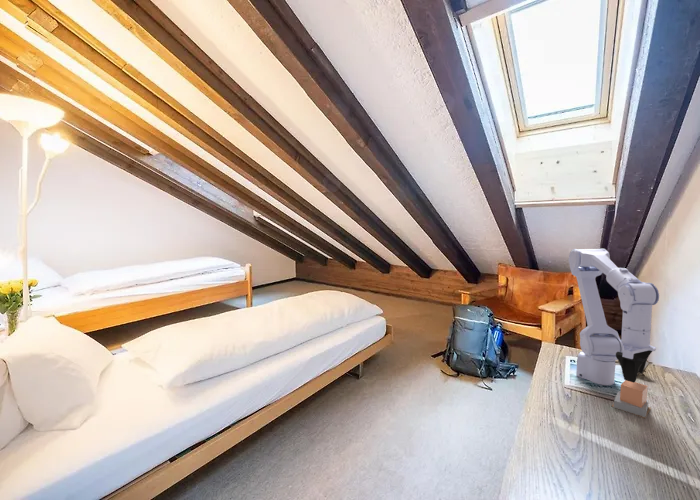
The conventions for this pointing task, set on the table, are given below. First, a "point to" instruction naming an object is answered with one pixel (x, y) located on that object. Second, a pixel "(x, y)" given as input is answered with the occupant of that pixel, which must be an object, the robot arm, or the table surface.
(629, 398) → the terracotta block
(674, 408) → the table surface
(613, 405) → the walnut slab
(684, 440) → the table surface
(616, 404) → the slate slab
